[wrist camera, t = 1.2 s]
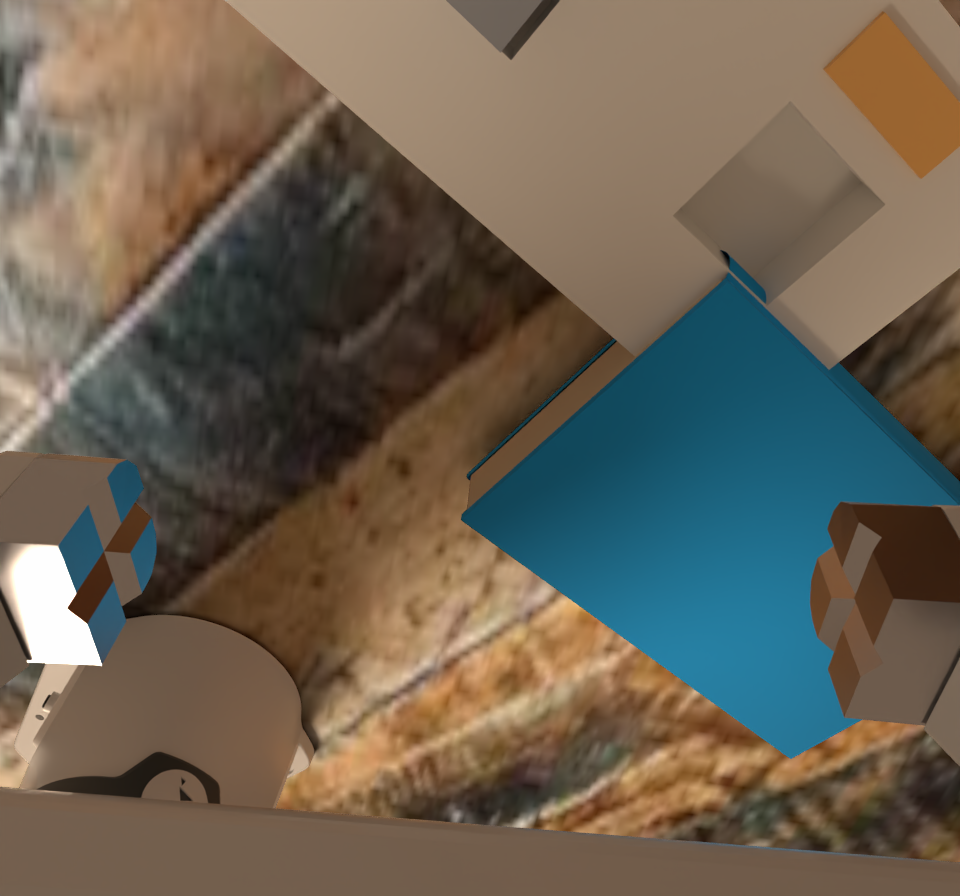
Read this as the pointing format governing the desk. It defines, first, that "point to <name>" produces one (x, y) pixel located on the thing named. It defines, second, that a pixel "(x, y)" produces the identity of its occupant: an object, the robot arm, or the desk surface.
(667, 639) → the book
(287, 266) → the desk surface
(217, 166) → the desk surface
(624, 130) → the socket board
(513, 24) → the plug
